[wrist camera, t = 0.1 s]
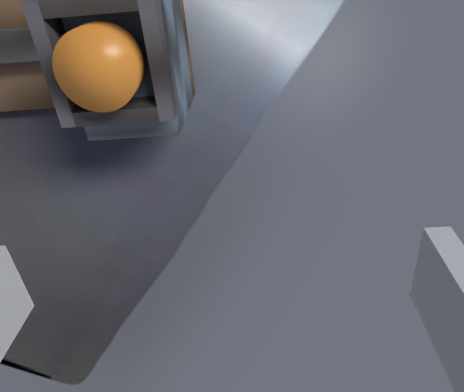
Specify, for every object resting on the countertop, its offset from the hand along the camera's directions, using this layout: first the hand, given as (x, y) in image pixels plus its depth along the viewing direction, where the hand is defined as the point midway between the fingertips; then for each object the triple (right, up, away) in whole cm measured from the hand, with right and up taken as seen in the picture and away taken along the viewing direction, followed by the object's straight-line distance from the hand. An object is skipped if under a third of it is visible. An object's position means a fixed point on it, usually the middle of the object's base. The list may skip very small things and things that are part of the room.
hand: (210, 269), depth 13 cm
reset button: (-7, +11, +13) cm, 18 cm away
